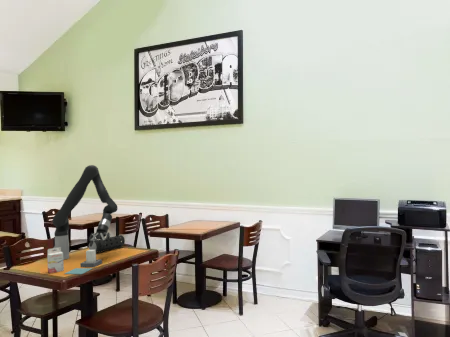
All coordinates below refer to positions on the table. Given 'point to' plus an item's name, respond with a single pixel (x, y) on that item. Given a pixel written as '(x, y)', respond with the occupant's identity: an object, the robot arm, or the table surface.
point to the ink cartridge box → (55, 260)
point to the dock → (91, 264)
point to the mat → (78, 271)
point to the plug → (90, 256)
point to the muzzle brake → (108, 244)
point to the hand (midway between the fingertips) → (96, 246)
